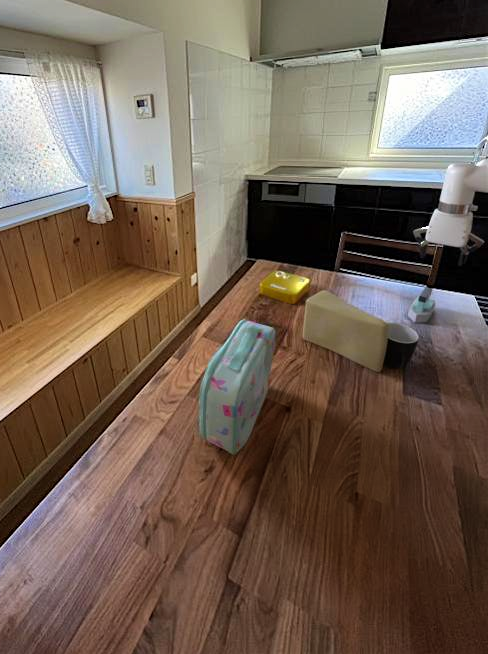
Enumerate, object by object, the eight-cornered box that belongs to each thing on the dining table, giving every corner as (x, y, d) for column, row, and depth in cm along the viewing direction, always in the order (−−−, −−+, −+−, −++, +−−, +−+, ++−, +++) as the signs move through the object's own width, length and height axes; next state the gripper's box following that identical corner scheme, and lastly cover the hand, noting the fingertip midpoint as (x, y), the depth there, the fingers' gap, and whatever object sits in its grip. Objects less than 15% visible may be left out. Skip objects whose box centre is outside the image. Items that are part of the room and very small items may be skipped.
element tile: (257, 293, 131) (257, 282, 129) (275, 278, 141) (275, 268, 139) (294, 305, 122) (295, 294, 120) (310, 288, 132) (311, 277, 130)
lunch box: (238, 368, 95) (239, 303, 86) (274, 379, 90) (279, 313, 81) (195, 447, 74) (190, 373, 65) (239, 467, 69) (241, 390, 60)
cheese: (389, 364, 93) (400, 319, 87) (370, 380, 88) (381, 334, 82) (319, 327, 110) (324, 287, 104) (300, 339, 105) (304, 298, 99)
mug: (370, 349, 99) (376, 320, 95) (404, 352, 97) (411, 323, 93) (381, 379, 88) (388, 348, 84) (419, 383, 86) (429, 352, 82)
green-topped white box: (414, 305, 118) (420, 284, 114) (433, 310, 114) (439, 289, 111) (404, 319, 111) (410, 297, 107) (424, 326, 107) (431, 303, 104)
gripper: (494, 208, 94) (478, 263, 101) (422, 200, 106) (412, 250, 113) (490, 215, 90) (474, 272, 97) (416, 206, 101) (405, 258, 108)
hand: (440, 260), depth 105 cm, fingers open, 9 cm apart
